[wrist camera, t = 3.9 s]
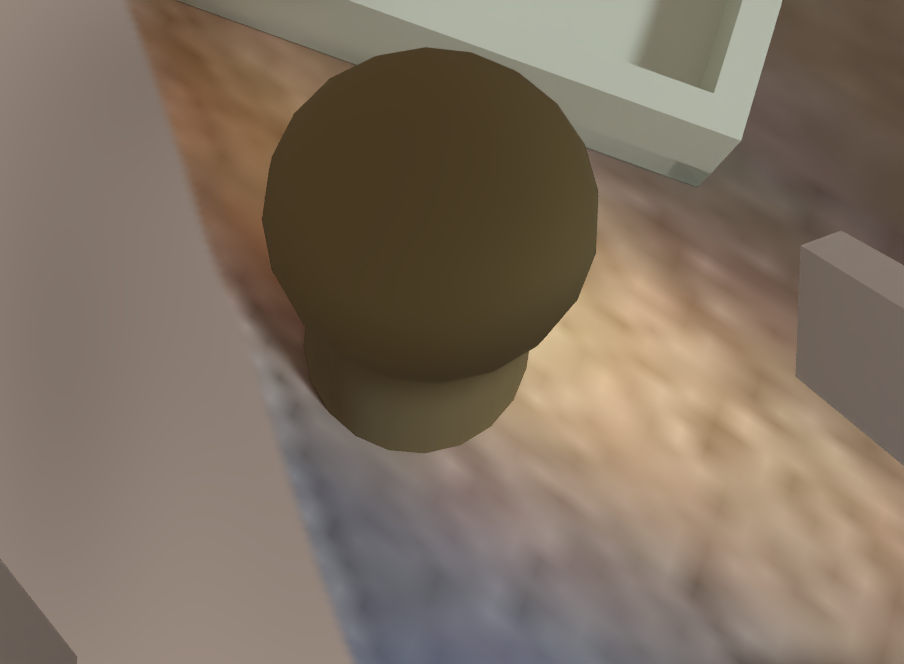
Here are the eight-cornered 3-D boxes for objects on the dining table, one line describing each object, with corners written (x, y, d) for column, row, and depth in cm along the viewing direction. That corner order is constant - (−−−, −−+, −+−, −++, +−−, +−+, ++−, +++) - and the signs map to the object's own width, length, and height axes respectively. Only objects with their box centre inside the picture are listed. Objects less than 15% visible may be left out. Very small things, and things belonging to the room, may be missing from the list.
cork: (258, 374, 21) (119, 233, 11) (383, 193, 23) (371, -94, 12) (453, 498, 21) (513, 480, 10) (569, 307, 22) (729, 116, 12)
